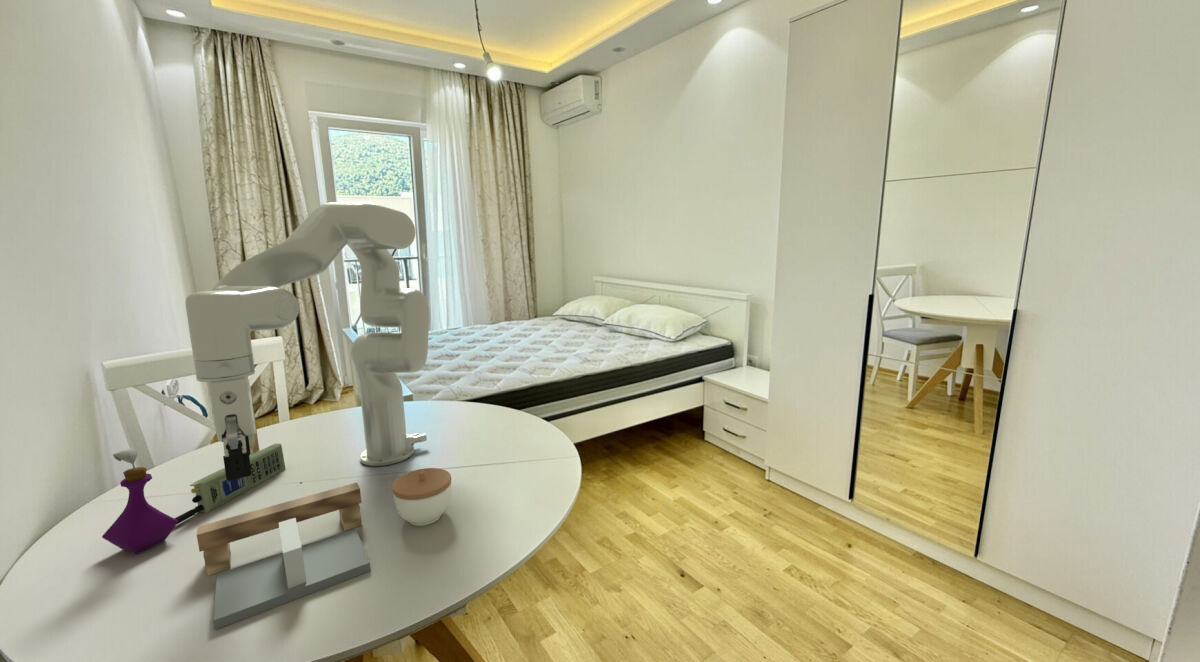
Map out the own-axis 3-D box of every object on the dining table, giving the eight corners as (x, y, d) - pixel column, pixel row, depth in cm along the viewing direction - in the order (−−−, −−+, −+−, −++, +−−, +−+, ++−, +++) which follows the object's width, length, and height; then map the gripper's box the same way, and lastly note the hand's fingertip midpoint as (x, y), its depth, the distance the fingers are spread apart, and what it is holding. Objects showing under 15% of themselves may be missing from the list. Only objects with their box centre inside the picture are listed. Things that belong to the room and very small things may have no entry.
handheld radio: (288, 469, 114) (180, 530, 90) (276, 469, 115) (166, 529, 91) (283, 443, 113) (173, 497, 89) (272, 443, 114) (159, 496, 90)
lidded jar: (398, 539, 86) (393, 491, 85) (393, 510, 96) (389, 467, 94) (458, 523, 91) (455, 477, 89) (448, 497, 101) (445, 455, 99)
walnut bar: (358, 496, 94) (357, 482, 93) (361, 502, 91) (360, 488, 91) (200, 542, 79) (197, 526, 79) (199, 551, 77) (196, 535, 77)
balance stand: (356, 535, 88) (352, 498, 86) (370, 570, 78) (366, 529, 77) (218, 582, 76) (210, 539, 74) (215, 629, 66) (206, 582, 65)
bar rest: (356, 513, 95) (354, 495, 94) (362, 525, 91) (359, 506, 90) (208, 559, 81) (205, 538, 81) (207, 575, 77) (203, 553, 77)
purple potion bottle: (182, 537, 88) (164, 445, 85) (131, 562, 81) (110, 463, 78) (155, 529, 90) (138, 440, 87) (104, 553, 83) (83, 457, 80)
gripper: (255, 374, 72) (269, 479, 75) (253, 355, 86) (264, 445, 89) (190, 382, 68) (207, 494, 71) (199, 361, 82) (213, 455, 84)
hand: (239, 466), depth 80 cm, fingers open, 9 cm apart
